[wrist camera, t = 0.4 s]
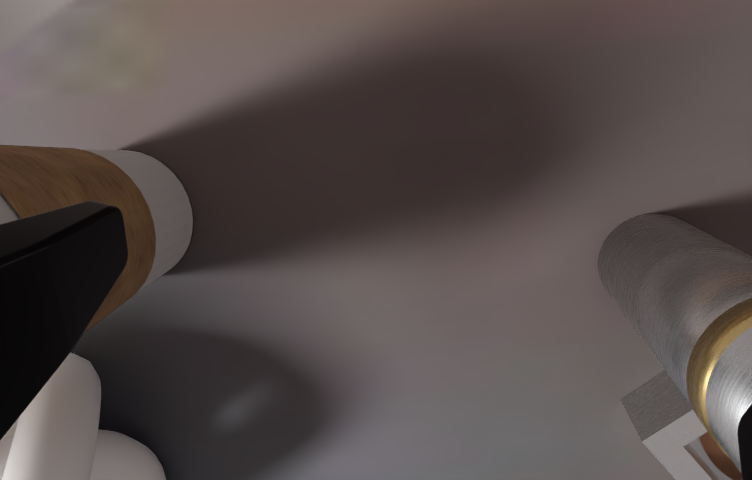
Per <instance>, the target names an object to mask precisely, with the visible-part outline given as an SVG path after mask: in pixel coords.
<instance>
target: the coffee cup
mask: <svg viewBox="0 0 752 480" xmlns="http://www.w3.org/2000/svg"><path fill="white" fill-rule="evenodd" d="M85 201H98V202H102V203H106V204H110V205H114V206H116V207H118V208H119V209H120V210H121V212H122V213H123V217H124V224H125V231H126V238H127V245H128V260H127V264H126V266H125V268H124V270H123V272H122V273H121V275H120V277H119V278H118V280H117V281H116V283H115V284H114V286H113V288H112V289H111V291H110V292H109V294H108V295H107V297H106V299H105V300H104V302H103V303H102V305H101V306H100V308H99V309H98V311H97V313H96V314H95V316H94V317H93V319H92V320H91V322H90V324H89V325H88V327H87V328H86V330H85V331H87V330H88V329H90V328H91V327H92V326H94V325H95V324H96V323H98V322H99V321H100V320H102V319H103V318H104V317H106V316H107V315H108V314H110V313H111V312H112V311H114V310H115V309H116V308H118V307H119V306H120V305H122V304H123V303H125V302H126V301H127V300H128V299H130V298H131V297H132V296H133V295H135V294H136V293H137V292H139V291H140V290H141V289H143V288H144V287H146V286H147V285H149V284H150V283H152V282H153V281H155V280H156V279H158V278H159V277H160V276H162V275H163V274H165V273H166V272H167V271H169V270H170V269H171V268H172V267H174V266H175V265H176V264H177V263H178V262H179V261H180V259H181V258H182V257H183V256H184V254H185V252H186V250H187V248H188V246H189V243H190V240H191V236H192V230H193V216H192V208H191V205H190V201H189V198H188V195H187V193H186V191H185V189H184V187H183V185H182V184H181V182H180V181H179V180H178V178H177V177H176V176H175V174H174V173H173V172H172V171H171V170H170V169H168V168H167V167H166V166H165V165H164V164H163V163H161V162H160V161H158V160H156V159H155V158H153V157H151V156H149V155H146V154H143V153H141V152H135V151H129V150H80V149H74V148H55V147H34V146H13V145H0V224H3V223H7V222H10V221H14V220H18V219H22V218H25V217H29V216H33V215H37V214H40V213H44V212H48V211H52V210H55V209H59V208H63V207H67V206H70V205H74V204H78V203H82V202H85ZM85 331H84V332H85Z"/></svg>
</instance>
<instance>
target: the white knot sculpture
mask: <svg viewBox="0 0 752 480" xmlns="http://www.w3.org/2000/svg"><path fill="white" fill-rule="evenodd" d="M100 407H101V382H100V379H99V376H98V374H97V372H96V371H95V369H94V368H93V366H92V364H91V363H90V361H88V360H86V359H84V358H82V357H80V356H78V355H76V354H73V353H69V355H68V356H67V357H66V359H65V360H64V361H63V363H62V364H61V365H60V367H59V368H58V369H57V370H56V372H55V373H54V374H53V375H52V377H51V378H50V379H49V380H48V382H47V383H46V384H45V385H44V387H43V388H42V389H41V390H40V392H39V393H38V394H37V395H36V397H35V398H34V399H33V400H32V402H31V403H30V404H29V405H28V407H27V408H26V409H25V410H24V412H23V413H22V414H21V415H20V417H19V418H18V419H17V420H16V422H15V423H14V424H13V425H12V427H11V428H10V429H9V430H8V432H7V433H6V434H5V435H4V437H3V438H2V439H1V440H0V480H166V477H165V474H164V470H163V467H162V465H161V463H160V462H159V460H158V458H157V457H156V455H155V454H154V453H153V452H152V451H151V450H150V449H149V448H148V447H147V446H145V445H143V444H141V443H140V442H138V441H136V440H134V439H133V438H131V437H128V436H126V435H124V434H122V433H118V432H115V431H109V430H99V429H98V426H99V417H100Z"/></svg>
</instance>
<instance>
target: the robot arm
mask: <svg viewBox="0 0 752 480" xmlns="http://www.w3.org/2000/svg"><path fill="white" fill-rule="evenodd" d="M127 260H128V245H127V238H126V231H125V224H124V217H123V213H122V212H121V210H120V209H119V208H118V207H116V206H114V205H110V204H106V203H102V202H98V201H85V202H82V203H78V204H74V205H70V206H67V207H63V208H59V209H55V210H52V211H48V212H44V213H40V214H37V215H33V216H29V217H25V218H22V219H18V220H14V221H10V222H7V223H3V224H0V440H1V439H2V438H3V437H4V435H5V434H6V433H7V432H8V430H9V429H10V428H11V427H12V425H13V424H14V423H15V422H16V420H17V419H18V418H19V417H20V415H21V414H22V413H23V412H24V410H25V409H26V408H27V407H28V405H29V404H30V403H31V402H32V400H33V399H34V398H35V397H36V395H37V394H38V393H39V392H40V390H41V389H42V388H43V387H44V385H45V384H46V383H47V382H48V380H49V379H50V378H51V377H52V375H53V374H54V373H55V372H56V370H57V369H58V368H59V367H60V365H61V364H62V363H63V361H64V360H65V359H66V357H67V356H68V355H69V353H70V352H71V351H72V349H73V348H74V346H75V345H76V343H77V342H78V341H79V339H80V338H81V336H82V335H83V333H84V331H85V330H86V328H87V327H88V325H89V324H90V322H91V320H92V319H93V317H94V316H95V314H96V313H97V311H98V309H99V308H100V306H101V305H102V303H103V302H104V300H105V299H106V297H107V295H108V294H109V292H110V291H111V289H112V288H113V286H114V284H115V283H116V281H117V280H118V278H119V277H120V275H121V273H122V272H123V270H124V268H125V266H126V264H127ZM737 434H738V446H739V455H740V465H741V474H742V480H752V404H751V405H750V407H749V408H748V409H747V410H746V412H745V413H744V414H743V416H742V417H741V419H740V422H739V425H738V432H737Z"/></svg>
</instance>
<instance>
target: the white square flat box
mask: <svg viewBox="0 0 752 480" xmlns="http://www.w3.org/2000/svg"><path fill="white" fill-rule="evenodd" d="M621 401H622V403H623V405H624V407H625V409H626V411H627V413H628V415H629V417H630V419H631V421H632V423H633V425H634V427H635V429H636V431H637V433H638V435H639V437H640V439H641V441H642V442H643V443H644V444H645V446H646V447H647V448H648V449H649V450H650V451H651V452H652V453H653V455H654V456H655V457H656V458H657V459H658V460H659V461H660V462H661V464H662V465H663V466H664V467H665V468H666V469H667V470H668V471H669V473H670V474H671V475H672V476H673V477H674V478H675V479H676V480H742V474H741V472H740V471H739V469H738V468H737V467H736V465H735V464H734V463H733V461H732V460H731V459H730V458H729V457H728V456H727V455H726V454H725V453H724V452H723V451H722V450H721V449H720V447H719V446H718V445H717V444H716V442H715V441H714V440H713V438H712V437H711V435H710V434H709V433H708V431H707V430H706V429H705V427H704V426H703V424H702V423H701V422H700V420H699V419H698V417H697V416H696V414H695V412H694V410H693V408H692V406H691V404H690V403H689V402H688V400H687V399H686V398H685V396H684V395H683V394H682V392H681V391H680V390H679V388H678V387H677V386H676V384H675V383H674V381H673V380H672V379H671V377H670V376H669V375H668V373H667V372H666V371H664V372H663V373H661V374H660V375H658V376H657V377H655V378H654V379H652V380H651V381H649V382H648V383H646V384H645V385H643V386H642V387H640V388H639V389H637V390H636V391H634V392H633V393H631V394H630V395H628V396H627V397H625V398H624V399H622V400H621Z"/></svg>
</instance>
